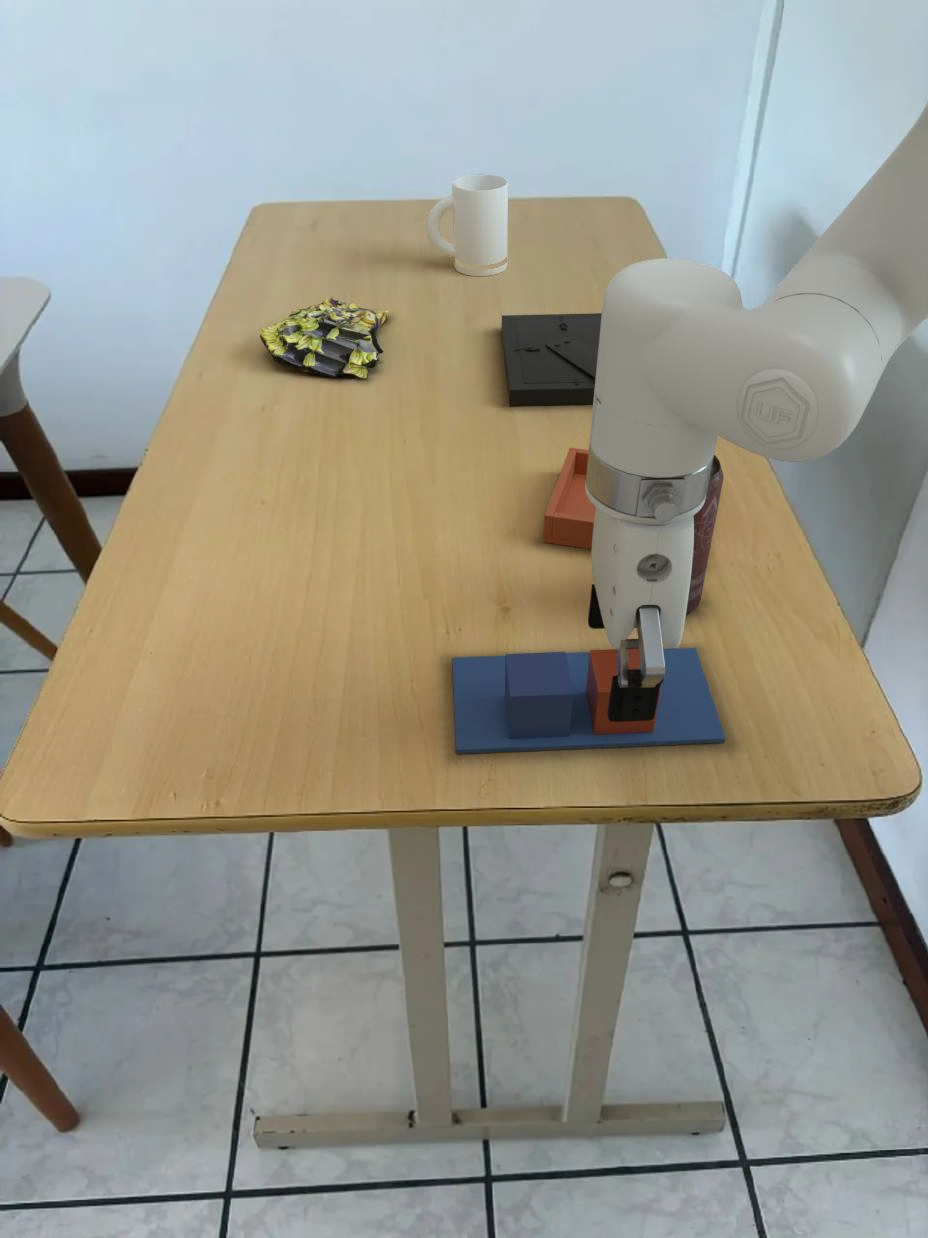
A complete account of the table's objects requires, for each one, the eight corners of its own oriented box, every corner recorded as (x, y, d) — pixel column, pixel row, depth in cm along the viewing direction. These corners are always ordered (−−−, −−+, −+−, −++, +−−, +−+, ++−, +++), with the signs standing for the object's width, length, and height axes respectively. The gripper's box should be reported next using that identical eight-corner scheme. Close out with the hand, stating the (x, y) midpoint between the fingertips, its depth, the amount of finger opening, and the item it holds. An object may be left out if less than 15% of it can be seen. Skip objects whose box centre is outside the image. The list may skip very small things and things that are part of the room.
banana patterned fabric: (311, 311, 134) (321, 266, 131) (416, 357, 133) (429, 312, 129) (239, 349, 118) (247, 299, 114) (358, 402, 116) (370, 352, 113)
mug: (427, 258, 147) (423, 175, 139) (504, 255, 147) (505, 172, 140) (429, 278, 141) (425, 193, 133) (509, 275, 141) (510, 189, 133)
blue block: (562, 693, 75) (565, 651, 72) (569, 736, 71) (573, 693, 68) (504, 696, 75) (505, 653, 72) (509, 739, 71) (510, 696, 68)
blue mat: (694, 652, 79) (695, 647, 78) (724, 743, 71) (726, 738, 71) (452, 661, 78) (451, 657, 78) (456, 754, 71) (456, 749, 70)
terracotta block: (642, 689, 75) (649, 647, 72) (653, 732, 71) (661, 689, 69) (585, 692, 75) (589, 649, 72) (593, 735, 71) (598, 692, 68)
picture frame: (645, 403, 111) (620, 327, 127) (648, 380, 109) (622, 307, 125) (509, 406, 111) (501, 330, 127) (510, 383, 109) (501, 309, 125)
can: (696, 577, 86) (720, 440, 77) (702, 623, 81) (729, 483, 72) (627, 574, 87) (644, 438, 78) (630, 619, 82) (648, 480, 73)
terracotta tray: (710, 492, 97) (715, 465, 95) (699, 565, 88) (704, 538, 86) (568, 473, 100) (569, 447, 98) (543, 542, 91) (544, 515, 89)
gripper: (744, 554, 53) (695, 758, 64) (678, 401, 66) (647, 593, 77) (609, 558, 53) (583, 761, 64) (569, 404, 66) (554, 596, 77)
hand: (618, 669), depth 70 cm, fingers open, 9 cm apart
